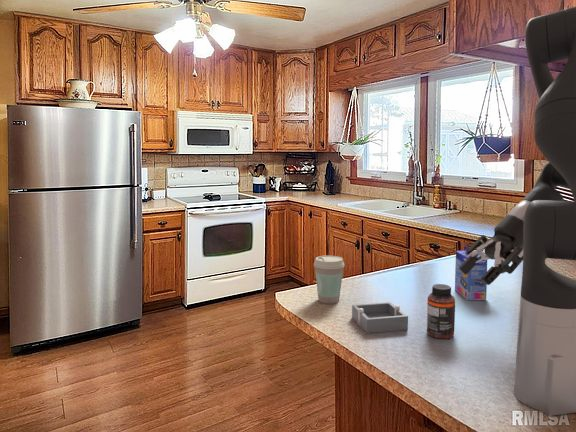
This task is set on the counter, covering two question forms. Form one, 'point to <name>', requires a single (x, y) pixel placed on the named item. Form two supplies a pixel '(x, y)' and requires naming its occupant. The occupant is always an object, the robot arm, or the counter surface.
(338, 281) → the coffee cup
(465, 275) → the ink cartridge box
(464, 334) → the counter surface
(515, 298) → the counter surface
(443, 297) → the supplement bottle
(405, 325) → the tray
